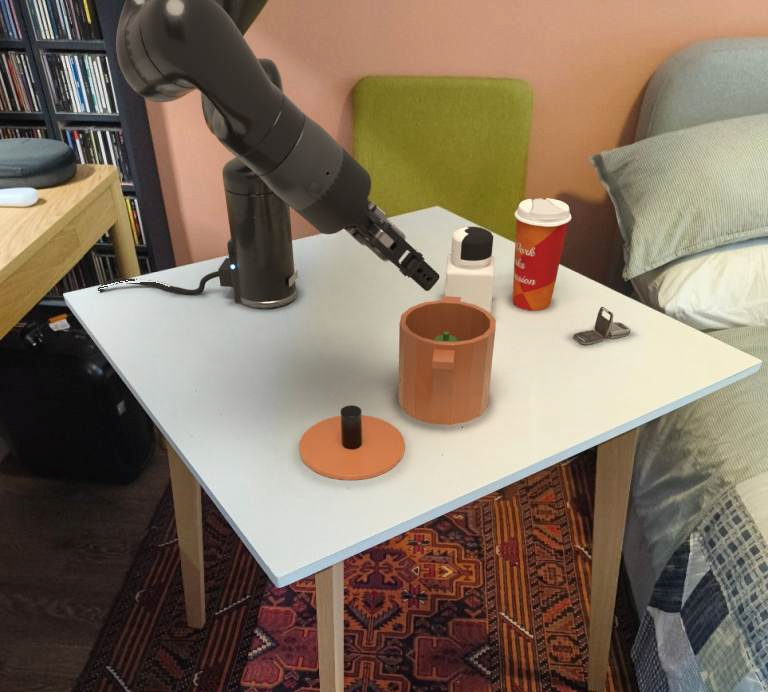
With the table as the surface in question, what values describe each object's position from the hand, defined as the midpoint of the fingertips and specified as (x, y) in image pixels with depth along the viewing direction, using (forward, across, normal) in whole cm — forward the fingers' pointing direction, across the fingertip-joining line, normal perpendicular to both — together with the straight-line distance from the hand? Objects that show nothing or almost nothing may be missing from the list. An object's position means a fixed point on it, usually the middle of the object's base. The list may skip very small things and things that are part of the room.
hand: (416, 268), depth 86 cm
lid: (+6, -5, +20) cm, 22 cm away
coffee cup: (+35, +21, -8) cm, 41 cm away
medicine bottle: (+28, +23, -1) cm, 36 cm away
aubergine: (+16, 0, +10) cm, 19 cm away
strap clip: (+37, +7, -11) cm, 40 cm away
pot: (+16, 0, +10) cm, 19 cm away
